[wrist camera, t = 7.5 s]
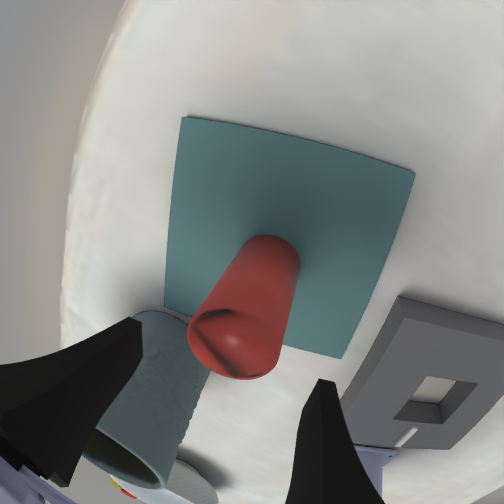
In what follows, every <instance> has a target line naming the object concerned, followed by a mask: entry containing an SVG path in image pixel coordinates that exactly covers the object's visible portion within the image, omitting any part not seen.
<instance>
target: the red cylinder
mask: <svg viewBox="0 0 504 504" xmlns="http://www.w3.org/2000/svg"><path fill="white" fill-rule="evenodd" d="M299 271H300V260H299V257H298V254H297V252H296V250H295V249H294V248H293V246H292V245H291V244H290V243H288V242H287V241H286V240H284V239H282V238H280V237H278V236H274V235H258V236H255V237H253V238H251V239H249V240H248V241H247V242H246V243H244V245H243V246H242V247H241V249H240V250H239V252H238V253H237V254H236V256H235V257H234V259H233V260H232V262H231V263H230V264H229V266H228V267H227V269H226V270H225V272H224V273H223V274H222V276H221V277H220V279H219V280H218V282H217V283H216V285H215V286H214V287H213V289H212V290H211V292H210V293H209V295H208V296H207V297H206V299H205V300H204V302H203V303H202V305H201V306H200V308H199V309H198V310H197V312H196V313H195V315H194V316H193V318H192V319H191V321H190V323H189V325H188V329H187V339H188V343H189V346H190V348H191V350H192V352H193V353H194V355H195V356H196V357H197V359H198V360H199V361H200V362H201V363H202V364H204V365H205V366H206V367H207V368H209V369H210V370H212V371H214V372H216V373H218V374H220V375H222V376H225V377H229V378H233V379H240V380H249V379H255V378H259V377H262V376H264V375H266V374H267V373H269V372H270V371H271V370H272V369H273V368H274V367H275V365H276V364H277V362H278V359H279V355H280V351H281V347H282V343H283V339H284V335H285V331H286V327H287V323H288V319H289V315H290V311H291V306H292V302H293V298H294V293H295V289H296V285H297V280H298V276H299Z"/></svg>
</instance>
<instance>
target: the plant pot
mask: <svg viewBox="0 0 504 504" xmlns="http://www.w3.org/2000/svg"><path fill="white" fill-rule="evenodd" d="M132 318H133V319H136V320H138V321H141V322H142V342H143V358H142V360H141V362H140V364H139V365H138V367H137V369H136V371H135V372H134V374H133V376H132V377H131V379H130V380H129V381H128V383H127V384H126V385H125V387H124V388H123V389H122V390H121V392H120V393H119V394H118V396H117V397H116V398H115V400H114V401H113V402H112V404H111V405H110V406H109V408H108V409H107V410H106V412H105V413H104V414H103V416H102V417H101V419H100V421H99V422H98V424H97V426H96V428H95V429H94V431H93V433H92V435H91V437H90V439H89V441H88V442H87V444H86V446H85V448H84V450H83V453H82V456H83V457H84V458H86V459H87V460H88V461H90V462H91V463H93V464H94V465H96V466H97V467H99V468H100V469H102V470H104V471H105V472H107V473H109V474H111V475H113V476H115V477H116V478H118V479H120V480H123V481H125V482H127V483H130V484H132V485H135V486H138V487H141V488H145V489H150V490H161V489H163V488H165V486H166V484H167V481H168V478H169V475H170V473H171V470H172V467H173V464H174V461H175V459H176V456H177V454H178V445H179V444H180V443H182V439H183V438H184V436H185V432H186V430H187V429H188V426H189V420H191V418H192V415H193V412H194V409H195V408H196V406H197V402H198V400H199V398H200V394H201V391H202V389H203V387H204V385H205V383H206V380H207V378H208V375H209V372H210V369H209V368H207V367H206V366H205V365H204V364H202V363H201V362H200V361H199V360H198V359H197V357H196V356H195V355H194V353H193V352H192V350H191V348H190V346H189V343H188V339H187V329H188V324H186V323H185V322H183V321H182V320H180V319H178V318H176V317H174V316H172V315H170V314H166V313H163V312H158V311H145V312H141V313H139V314H137V315H135V316H133V317H132Z"/></svg>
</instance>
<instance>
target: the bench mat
mask: <svg viewBox="0 0 504 504" xmlns="http://www.w3.org/2000/svg"><path fill="white" fill-rule="evenodd" d="M415 175H416V174H415V173H414V172H411V171H409V170H406V169H403V168H400V167H397V166H394V165H392V164H389V163H386V162H383V161H379V160H376V159H373V158H370V157H367V156H364V155H360V154H357V153H354V152H350V151H347V150H344V149H340V148H336V147H333V146H329V145H326V144H322V143H318V142H314V141H310V140H306V139H302V138H298V137H294V136H289V135H285V134H281V133H276V132H271V131H267V130H262V129H257V128H252V127H247V126H241V125H236V124H230V123H224V122H218V121H212V120H205V119H198V118H191V117H182V120H181V126H180V133H179V140H178V147H177V154H176V162H175V170H174V178H173V187H172V196H171V206H170V217H169V229H168V242H167V256H166V273H165V295H164V307H166V308H169V309H172V310H175V311H178V312H180V313H183V314H186V315H189V316H192V317H193V316H194V315H195V313H196V312H197V310H198V309H199V308H200V306H201V305H202V303H203V302H204V300H205V299H206V297H207V296H208V295H209V293H210V292H211V290H212V289H213V287H214V286H215V285H216V283H217V282H218V280H219V279H220V277H221V276H222V274H223V273H224V272H225V270H226V269H227V267H228V266H229V264H230V263H231V262H232V260H233V259H234V257H235V256H236V254H237V253H238V252H239V250H240V249H241V247H242V246H243V245H244V243H246V242H247V241H248V240H249V239H251V238H253V237H255V236H258V235H274V236H278V237H280V238H282V239H284V240H286V241H287V242H288V243H290V244H291V245H292V246H293V248H294V249H295V250H296V252H297V254H298V257H299V260H300V271H299V276H298V280H297V285H296V289H295V293H294V298H293V302H292V306H291V311H290V315H289V319H288V323H287V327H286V331H285V335H284V339H283V343H282V344H283V345H287V346H290V347H294V348H298V349H302V350H306V351H309V352H313V353H317V354H321V355H325V356H329V357H333V358H338V359H341V358H342V356H343V354H344V353H345V351H346V349H347V347H348V345H349V343H350V341H351V339H352V337H353V334H354V332H355V330H356V328H357V326H358V324H359V322H360V320H361V318H362V315H363V313H364V311H365V309H366V307H367V304H368V302H369V300H370V298H371V295H372V293H373V291H374V289H375V286H376V284H377V281H378V279H379V277H380V274H381V272H382V269H383V267H384V264H385V262H386V259H387V257H388V254H389V252H390V249H391V246H392V244H393V241H394V238H395V235H396V233H397V230H398V227H399V224H400V221H401V219H402V216H403V213H404V210H405V207H406V204H407V201H408V197H409V194H410V191H411V188H412V185H413V181H414V178H415Z"/></svg>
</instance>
